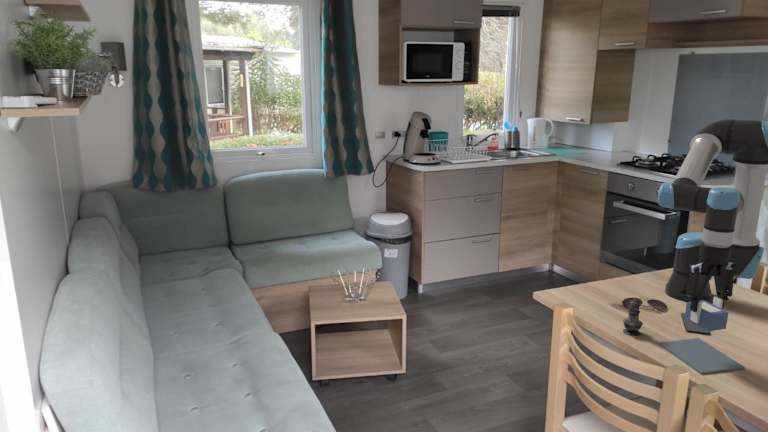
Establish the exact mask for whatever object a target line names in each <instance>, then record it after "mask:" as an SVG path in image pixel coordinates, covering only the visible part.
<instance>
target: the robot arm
mask: <svg viewBox="0 0 768 432" xmlns="http://www.w3.org/2000/svg"><path fill="white" fill-rule="evenodd" d="M720 154H721V155H729V156H730V155H732V159H731V160H732V162H733V163H734V164H735V166H736V169H735V175H734V181H733V187H719V186H718V187H704V186H702V183H703V182H704V180H705V177H706V175H707V174H708V171H709V169H710V167H711V165H712V162H713V160H714V159H715V158H717V157H718V156H719V155H720ZM767 169H768V120H756V119H755V120H753V119H752V120H751V119H750V120H749V119H747V120H746V119H732V118H729V119H728V118H726V119H720V120H716V121H714V122H710V123H709V124H707V125H704V126H703V127H702V128H701V129H699V130H698V131H697V132H696V133H695V134H694V135H693V137H692V138H691V140H690V142H689V151H688V153H687V154H686V157H685V159H683V162H682V164H681V166H680V168H679V170H678V171H677V173H676V175H675V177H674V179H673V181H672V182H663V183H662V184H661V185H660V186H659V190H658V195H657V203H658V206H660V207H662V208H667V209H671V210H678V211H679V210H680V211H685V212H695V213H701V214H705V215H704V224H703V230H702V232H700V231H699V232H697V231H694V232H685V233H682V234H680V235H679V236H678V237H677V240H676V245H675V246H674V247H675V252H674V253H675V254H674V260H673V269H672V273H671V274H670V277H669V279H668V282H667V283H666V284H665V289H664V292H665V294H666V295H667V296H670V297H672V298H673V299H675V300H680V301H683V302H691V305H690V310H691V317H690V320H692V321H693V322H695V323H699V321H700V314H701V307H702V302H701V300H705V301H707V302H709V301H710V300H711V299H712V289H711V284H710V281H711V280H712V277H713V280H714V287H715V292H716V296H713V299H712V304H713V305H715V306H717V307H719V308H721V309H723V308H724V307H725V306H724V305H725V301H728V300H729V297H732V296H733V291H734V290H733V289H734V280H735V279H734V278H737V279H747V280H750V279H753V278H754V277H755V276H756V274H757V272H758V269H759V266H760V263H761V261H762V257H763V254H764V251H765V247H762V246H761V241H760V240H759V238H758V237H757V232H758V231H757V230H758V225H759V220H760V219H759V218H760V212H761V207H762V206H761V205H762V201H763V195H764V188H765V181H766V177H767V176H766V175H767V171H768V170H767ZM723 310H724V309H723Z"/></svg>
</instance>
